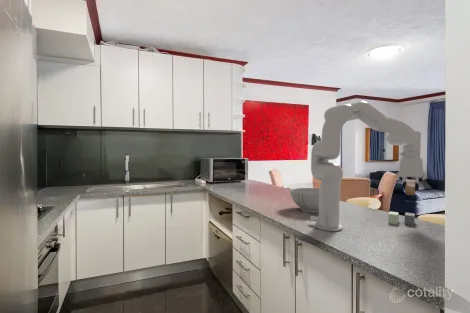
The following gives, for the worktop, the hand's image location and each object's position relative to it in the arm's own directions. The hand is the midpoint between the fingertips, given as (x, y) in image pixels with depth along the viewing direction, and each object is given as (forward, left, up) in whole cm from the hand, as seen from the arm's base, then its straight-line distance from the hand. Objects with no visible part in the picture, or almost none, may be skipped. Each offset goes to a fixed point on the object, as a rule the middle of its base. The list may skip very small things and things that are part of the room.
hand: (410, 189), depth 137 cm
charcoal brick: (0, 0, -18) cm, 18 cm away
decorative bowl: (-51, -5, -18) cm, 54 cm away
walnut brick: (0, +2, -1) cm, 2 cm away
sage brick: (-7, -3, -18) cm, 19 cm away
